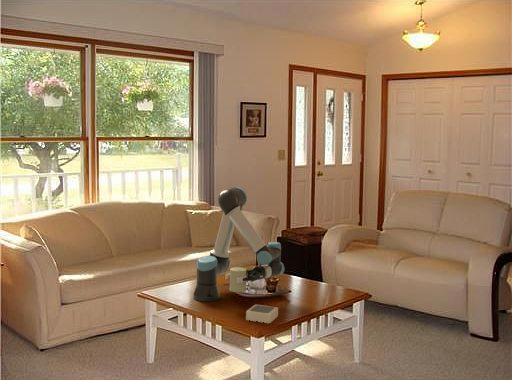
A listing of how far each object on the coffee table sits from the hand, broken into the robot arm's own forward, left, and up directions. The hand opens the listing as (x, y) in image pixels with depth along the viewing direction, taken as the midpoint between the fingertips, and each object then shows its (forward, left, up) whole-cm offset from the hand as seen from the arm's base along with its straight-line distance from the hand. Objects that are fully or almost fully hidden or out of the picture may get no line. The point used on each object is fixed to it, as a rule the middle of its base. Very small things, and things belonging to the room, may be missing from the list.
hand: (231, 278), depth 336 cm
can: (+2, +4, -7) cm, 9 cm away
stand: (+19, -4, -18) cm, 27 cm away
